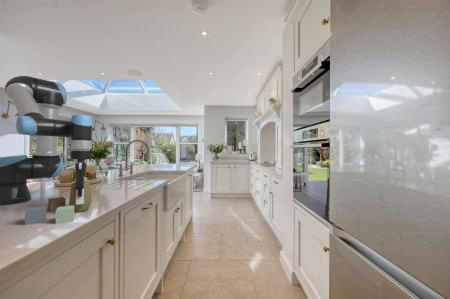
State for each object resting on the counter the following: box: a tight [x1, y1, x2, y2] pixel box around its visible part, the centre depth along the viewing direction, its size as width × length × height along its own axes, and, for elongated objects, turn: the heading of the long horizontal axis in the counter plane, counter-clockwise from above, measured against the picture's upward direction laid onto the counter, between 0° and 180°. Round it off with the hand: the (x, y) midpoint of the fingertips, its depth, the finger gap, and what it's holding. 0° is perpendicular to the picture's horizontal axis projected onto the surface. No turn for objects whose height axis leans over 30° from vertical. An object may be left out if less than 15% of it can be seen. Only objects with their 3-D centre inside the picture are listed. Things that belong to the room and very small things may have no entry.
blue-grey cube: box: [24, 205, 47, 226], centre depth 76 cm, size 5×5×5 cm
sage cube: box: [55, 205, 75, 225], centre depth 78 cm, size 5×5×5 cm
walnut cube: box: [47, 196, 67, 213], centre depth 92 cm, size 5×5×5 cm
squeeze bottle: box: [68, 176, 92, 213], centre depth 91 cm, size 8×8×18 cm
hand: (80, 201), depth 91 cm, fingers closed on squeeze bottle, 8 cm apart
